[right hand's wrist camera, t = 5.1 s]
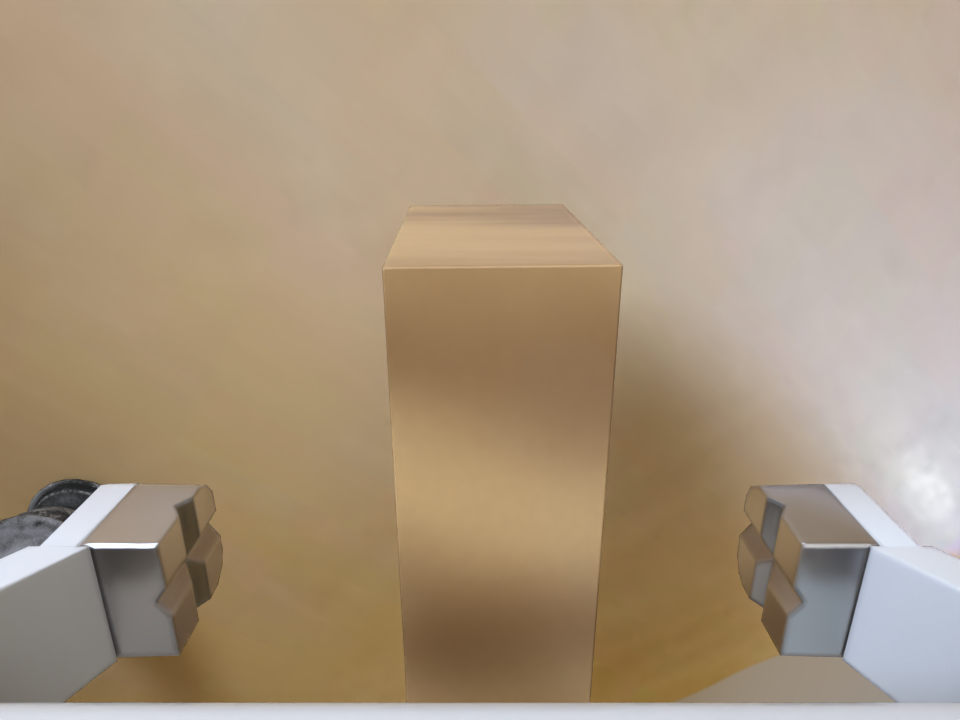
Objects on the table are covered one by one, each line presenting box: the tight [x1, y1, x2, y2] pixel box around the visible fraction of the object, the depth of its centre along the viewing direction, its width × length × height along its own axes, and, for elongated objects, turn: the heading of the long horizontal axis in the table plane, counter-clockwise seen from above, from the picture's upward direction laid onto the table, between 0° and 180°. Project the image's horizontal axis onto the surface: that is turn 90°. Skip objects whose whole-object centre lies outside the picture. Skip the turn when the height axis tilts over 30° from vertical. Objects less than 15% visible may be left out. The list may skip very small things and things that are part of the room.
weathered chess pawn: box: [0, 479, 101, 559], centre depth 28 cm, size 6×6×12 cm
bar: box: [382, 204, 623, 703], centre depth 22 cm, size 27×5×8 cm, turn 0°
